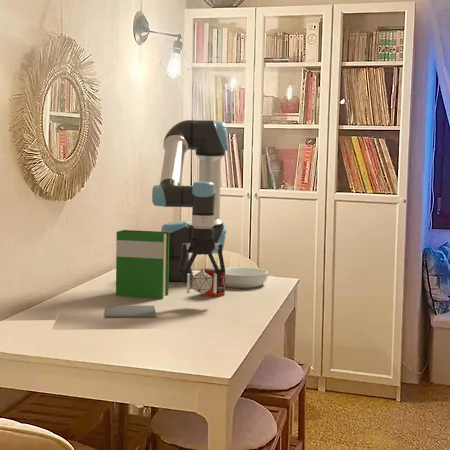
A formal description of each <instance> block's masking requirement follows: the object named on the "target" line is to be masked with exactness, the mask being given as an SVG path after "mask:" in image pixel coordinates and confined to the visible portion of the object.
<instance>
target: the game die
mask: <svg viewBox="0 0 450 450" xmlns="http://www.w3.org/2000/svg"><path fill="white" fill-rule="evenodd" d="M200 270H201V271H199V272H197V273H195V274H193V275H191V276H193V277H192V279H191V284H190V286H191V287H190V290H191V289H193V290H194V291H196V292H197V293H198V294H200V295H201V297H203V296H204V293H205V292H207V291H209V290H210V289H211V290H213V289H212V281H213V277H214V276H213V277H212V276H211V275H209V274H207V273H205V272H204V270H203V268H201V269H200Z"/></svg>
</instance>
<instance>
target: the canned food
mask: <svg viewBox="0 0 450 450" xmlns="http://www.w3.org/2000/svg"><path fill="white" fill-rule="evenodd" d="M217 266H218V269H221V267H220V265H217ZM203 271H204V272H205V273H207V274H209V275H211V276H212V277H213V276H214V273H216V271H215V269H214V267H213V265H207V266H204V270H203ZM213 284H214V277H213V281H212V289H213ZM225 295H226V286H225V272H224V273H221V274H220V283H217V291H216V293H215V294H214V292H213V290H211V289H210V290H209V291H207V292H205V293H204V294H203V296H206V297H209V298H211V297H214V298H220V297H224V296H225Z"/></svg>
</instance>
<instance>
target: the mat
mask: <svg viewBox="0 0 450 450" xmlns="http://www.w3.org/2000/svg"><path fill="white" fill-rule="evenodd" d="M104 317H105V318H104V319H136V318H137V319H138V318H139V319H140V318H141V319H145V318H146V319H153V318H154V319H155V318H157V314H156V307H155V305H106V309H105V315H104Z"/></svg>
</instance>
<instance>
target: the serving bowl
mask: <svg viewBox="0 0 450 450" xmlns="http://www.w3.org/2000/svg"><path fill="white" fill-rule="evenodd" d="M268 274H269V271H268V270H266V269H262V268H255V267H241V266H239V267H225V287H227V288H234V289H236V288H237V289H253V288H257V287H260V286H262V285H263V284H264V283H265V282H266V281H267V278H268Z"/></svg>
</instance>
